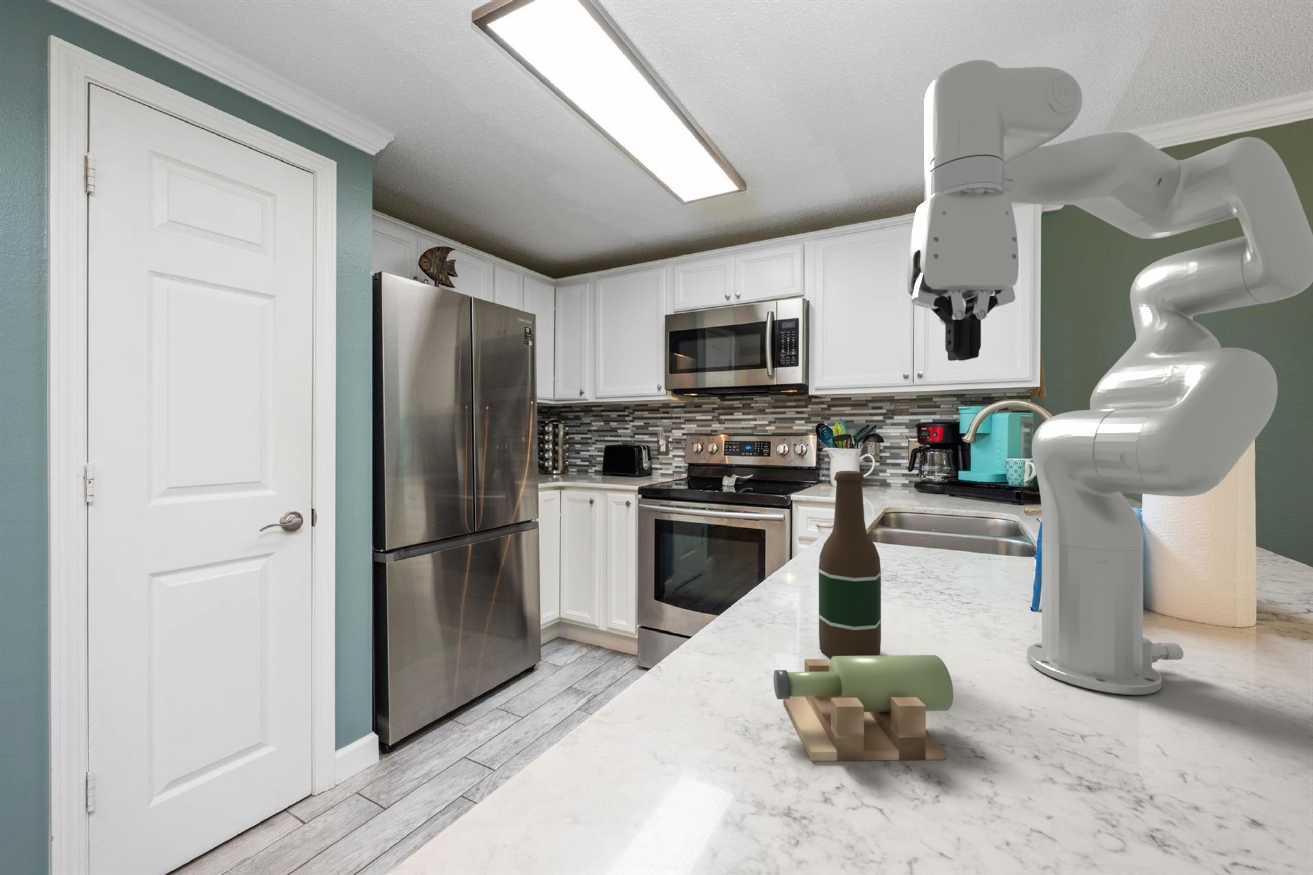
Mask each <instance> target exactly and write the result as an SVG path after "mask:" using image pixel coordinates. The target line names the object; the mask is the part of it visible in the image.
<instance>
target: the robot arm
mask: <svg viewBox="0 0 1313 875" xmlns="http://www.w3.org/2000/svg"><path fill="white" fill-rule="evenodd" d="M1082 106H1083V92H1082V88H1081V86H1080V84H1079V82H1078V81H1077V80H1076V78H1074V76H1072V75H1071V74H1070V73H1069V72H1067V71H1065V70H1063V69H1059V68H1056V67H1050V66H1031V67H1030V66H1028V67H1000V66H998V65H997V63H995V62H993V61H990V60H985V59H975V60H973V59H972V60H969V61H963V62H960V63H958V64H955V65H953V66H951V67H949V68H947V69H946V70H944V71H943V72H942V73H940V74H939V75H937V76H936V77H935V78H934V79H933V80H932V82H931V83H930V85H929V86H928V88H927V90H926V93H925V97H924V106H923V108H924V109H923V110H924V111H923V112H924V113H923V114H924V116H923V120H924V123H923V124H924V126H923V127H924V128H923V134H924V135H923V137H924V139H923V141H924V149H923V150H924V151H923V152H924V154H923V155H924V156H923V157H924V158H923V159H924V160H923V164H924V165H923V166H924V168H923V170H924V171H923V176H924V179H923V180H924V181H923V184H924V192H923V193H924V194H923V195H924V196H923V198H924V202H923V203H921V204H920V205H918V206H917V208H916V211H915V214H914V219H913V223H912V229H911V236H910V241H909V248H908V249H909V250H908V260H907V275H906V276H907V278H906V279H907V280H906V281H907V283H906V285H907V292H908V294H909V295H910V296H911V303H912V305H914V306H917V307H922V308H927V309H930V310H931V311H932V312H933V313H934V314H935V315H937V317H938V318H939V322H940V323H941V325H944V326H945V327H944V329H945V333H944V334H945V338H944V341H945V342H944V344H945V349H944V350H945V351H946V352H947V360H948V362H949V361H959V362H960V361H961V362H962V361H964V362H965V361H967V360H971V359H976V358H978V357H979V355H980V350H981V346H982V320H984V319H986V318H987V317H988V316H987V315H988V314H989V313H990V312H991V311H992V310H993V309H994V308H997V307H1001V306H1006V305H1007V304H1008V305H1009V304H1010V303H1013V302H1014V301H1015V300H1016V294H1015V290H1014V286H1015V285H1016V284H1017V282H1018V277H1019V245H1018V244H1019V243H1018V234H1017V233H1018V232H1017V227H1016V226H1017V224H1016V221H1015V214H1014V210H1013V205H1012V204H1021V205H1022V204H1027V205H1041V206H1043V205H1044V206H1065V205H1066V206H1067V205H1068V206H1071V205H1072V206H1076V207H1078V208H1079V209H1081V210H1083V211H1085V212H1087V213H1089V214H1090V215H1092V216H1094V217H1097V218H1099V219H1100V220H1102V221H1104V222H1105V223H1107V224H1110V225H1112V226H1113V227H1115V228H1117V229H1119V230H1121V231H1122V232H1125V233H1127V234H1129V235H1131V236H1133V237H1135V238H1138V239H1146V240H1148V239H1149V240H1151V239H1152V240H1155V239H1161V238H1162V239H1163V238H1167V237H1171V236H1175V235H1178V234H1182V233H1185V232H1188V231H1192V230H1195V229H1199V228H1202V227H1203V228H1204V227H1206V226H1209V225H1213V224H1217V223H1220V222H1223V221H1227V220H1230V219H1233V218H1237V219H1238V221H1239V223H1240V225H1241V229H1242V233H1243V236H1239V237H1235V238H1232V239H1228V240H1224V241H1220V242H1216V243H1211V244H1209V245H1205V246H1201V247H1198V248H1193V249H1190V250H1186V251H1182V252H1178V253H1175V254H1172V255H1170V256H1166V257H1163V258H1161V259H1158V260H1157V261H1154V262H1152V263H1150V264H1149V265H1148V266H1146V267H1145V268H1143V269H1142V270H1141V271H1140V272H1139V273H1138V274H1137V275H1136V277H1134V280H1133V282H1132V283H1131V284H1132V285H1131V288H1130V290H1129V291H1130V292H1129V293H1130V294H1129V300H1130V308H1131V314H1132V319H1133V326H1134V329H1135V341H1134V342H1133V343H1132V345H1131V346H1130V347H1129V348H1128V349H1127V350H1126V352H1125V353H1124V354H1122V356H1121V357H1120V358H1119V359H1118V360H1117V361H1116V362H1115V363H1114V364H1113V366H1111V367H1110V369H1109V370H1108V371H1107V372H1106V373H1105V374H1104V375H1103V376H1102V378H1101V379H1100V380H1099V381H1098V383H1097V384H1096V386H1095V387H1094V388H1093V391H1092V394H1091V395H1090V396H1091V397H1090V399H1089V408H1090V409H1083V410H1082V409H1081V410H1072V411H1068V412H1063V413H1059V414H1056V415H1054V416H1051V417H1049V418H1048V419H1046V420H1045V421H1043V423H1041V424H1040V425H1039V426H1038V428H1037V429H1036V431H1035V433H1034V435H1033V437H1032V441H1031V457H1032V461H1033V467H1034V470H1035V474H1036V477H1037V484H1038V488H1039V496H1040V506H1041V642H1035V643H1034V644H1031V645H1030V646H1029V647H1027V649H1026V660H1027V661H1028V663H1029V664H1030V665H1031V666H1033V668H1035V669H1037V670H1038V671H1040V672H1041V673H1043V674H1045V675H1047V676H1049V677H1052V678H1054V679H1056V680H1059V681H1061V682H1064V683H1067V684H1069V685H1074V686H1077V687H1080V688H1084V689H1088V690H1092V691H1093V690H1094V691H1097V692H1104V693H1109V694H1115V695H1128V696H1129V695H1130V696H1139V695H1140V696H1142V695H1149V694H1154V693H1157V692H1158V691H1160V690H1161V688H1162V676H1161V674H1160V672H1158V671H1157V670H1156V669H1155V668H1153V663H1157V662H1158V661H1159V660H1162V661H1163V660H1164V661H1179V660H1182V659H1183V657H1184V651H1183V648H1182V647H1181V646H1180V645H1179V644H1178V643H1177V642H1156V643H1153V642H1152V641H1151V640H1150V639H1149V638H1148V637H1145V636H1144V532H1143V527H1142V524H1141V521H1140V519H1139V517H1138V515H1137V513H1136V512H1135V510H1134V508H1133V507H1132V506H1131V505H1130V503H1129V502H1128V500H1127V499H1126V497H1125V496H1124V495H1123V493H1129V494H1138V495H1139V494H1143V495H1151V496H1162V497H1165V496H1166V497H1195V496H1199V495H1202V494H1205V493H1207V492H1210V491H1212V490H1213V489H1215V487H1217V486H1218V485H1220V483H1221V482H1223V480H1224V479H1225V478H1226V477H1227V475H1228V474H1229V473H1230V472H1231V470H1233V468H1234V467H1235V466H1236V464H1237V463H1238V462H1239V460H1240V459H1241V458H1242V456H1243V455H1244V454H1245V453H1246V451H1248V449H1249V448H1250V446H1251V445H1252V444H1253V442H1254V441H1255V440H1256V438H1257V437H1258V436H1259V435H1260V433H1261V432H1262V431H1263V429H1264V428H1265V426H1266V425H1267V424H1268V422H1269V421H1270V419H1271V417H1272V415H1273V412H1274V410H1275V408H1276V404H1277V400H1278V399H1277V398H1278V394H1279V393H1278V392H1279V391H1278V389H1279V388H1278V378H1277V374H1276V372H1275V369H1274V368H1273V366H1272V365H1271V363H1270V362H1269V361H1268V360H1267V359H1266V358H1265V357H1264V356H1263V355H1261V354H1259V353H1258V352H1255V351H1253V350H1250V349H1246V348H1241V347H1222V346H1221V344H1220V342H1219V341H1218V339H1217V337H1215V335H1214V334H1212V332H1211V331H1210V330H1209V329H1207V328H1206V327H1205V326H1203V325H1202V324H1200V323H1199V322H1197V321H1196V320H1193V319H1194V318H1193V317H1194V316H1198V315H1203V314H1209V313H1215V312H1221V311H1227V310H1232V309H1237V308H1244V307H1249V306H1255V305H1260V304H1261V305H1262V304H1270V303H1273V302H1279V301H1282V300H1285V299H1288V298H1291V297H1294V296H1297V295H1299V294H1301V293H1302V292H1304V291H1305V290H1307V289H1308V288H1309V287H1311V285H1312V284H1313V231H1312V228H1311V227H1310V224H1309V221H1308V219H1307V215H1306V213H1305V210H1304V208H1303V205H1302V202H1301V200H1300V198H1299V194H1298V191H1297V189H1296V186H1295V185H1294V182H1293V178H1292V177H1291V175H1290V173H1289V171H1288V169H1287V168H1286V165H1285V163H1284V162H1283V161H1282V160H1283V159H1282V158H1281V157H1280V155H1279V154H1278V152H1277V151H1276V150H1275V149H1274V148H1273V147H1272V146H1271V144H1269V143H1267V141H1265V140H1262V139H1261V138H1258V137H1254V136H1245V137H1240V138H1237V139H1233V140H1232V141H1229V142H1227V143H1224V144H1221V145H1219V146H1216V147H1214V148H1212V149H1208V150H1206V151H1204V152H1201V153H1199V154H1195V155H1193V156H1191V157H1187V158H1185V159H1176V158H1175V157H1172V156H1170V155H1169V154H1167V153H1165V152H1163V151H1162V150H1160V149H1159V148H1157V147H1155V146H1154V145H1153V144H1151V143H1149V142H1148V141H1146V140H1145V139H1144V138H1142V137H1140V136H1139V135H1137V134H1135V133H1132V132H1127V131H1115V132H1113V131H1112V132H1105V133H1100V134H1093V135H1089V136H1084V137H1080V138H1076V139H1072V140H1071V139H1070V140H1068V141H1063V142H1058V143H1055V144H1050V145H1045V144H1047V143H1049V142H1050V141H1053V140H1054V139H1056V138H1057V137H1059V136H1060V135H1062V134H1063V133H1064V132H1066V131H1067V130H1068V129H1069V128H1070V127H1071V126H1072V125H1073V124H1074V123H1075V121H1076V119H1077V118H1078V117H1079V114H1080V112H1081V110H1082Z"/></svg>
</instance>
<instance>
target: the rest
mask: <svg viewBox="0 0 1313 875" xmlns="http://www.w3.org/2000/svg"><path fill="white" fill-rule="evenodd" d="M829 664H830V660H829V659H828V658H804V672H829ZM782 701H783V706H784V708H785V711H786V712H787V715H788V717H789V718H790V721H791V723H792V725H793V727H794V728H795V731H796V733H797V735H798V737H799V739H800V741H801V743H802V745H803V747H804V749H805V751H806V754H807V756H808V757H809V759H810V761H811V762H823V761H824V762H825V761H827V762H832V761H833V762H834V761H835V762H840V761H850V762H851V761H852V762H853V761H920V760H922V761H923V760H924V761H927V760H928V761H932V760H933V761H935V760H936V761H937V760H941V761H942V760H946V759H947V753H946V752H947V750H946V749H945V748H944V747H943V746H942V745H941V743H939V741H937V739H936V738H935V737H934V736H933V735H932V734H931V733H930V731H928V730H927V728H926V726H927V725H926V722H927V721H926V716H927V714H926V712H927V711H926V706H925V705H924V704H923V703H922V702H921V701H920V700H919V699H918V698H917V697H891V712H864V706H863V705H862V703H861V702H860V701H859V700H858V698H833V697H832V696H817V697H790V698H789V699H782Z"/></svg>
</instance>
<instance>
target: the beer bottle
mask: <svg viewBox="0 0 1313 875" xmlns="http://www.w3.org/2000/svg"><path fill="white" fill-rule="evenodd" d="M833 480H834V481H835V482H836V485H835V486H836V488H835V502H834V516H833V518H834V519H833V520H834V522H833V525H832V530H831V531H832V532H831V533H830V535H829V536H828V537H827V538H826V540H825V542H824V543H823V545H822V548H821V551H820V554H819V559H818V560H819V561H818V562H819V563H818V640H819V644H818V645H819V649H820V650H819V651H820V652H822V653H823V654H824V655H825V656H827V657H828V658H829V659H830V660H831V658H832V657H833V656H880V654H881V647H882V646H881V644H882V571H881V570H882V568H881V558H880V554H879V552H878V550H877V547H876V545H875V543H874V541H873V540H872V538H871V537H870V536H869V534H868V532H867V527H866V522H865V509H864V508H865V507H864V493H863V492H864V491H863V482H864V481H865V476H864V473H863V472H861V471H858V470H857V471H856V470H839V471H837V472H835V474H834V478H833Z"/></svg>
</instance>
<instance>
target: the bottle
mask: <svg viewBox="0 0 1313 875" xmlns="http://www.w3.org/2000/svg"><path fill="white" fill-rule="evenodd" d="M829 662H830V664H829V672H805V671H787V670H786V669H775V670H774V671H773V689H774V694H775V698H776V699H777V700H783V699H789V698H790V697H817V696H832V697H833V698H858V700H859V701H860V702H861V703H862V705H863V706H864V712H891V697H917V698H918V699H919V700H920V701H921V702H922V703H923V704H924V705H925V706H926V712H947V711H949V710H950V709H951V707H952V705H953V702H954V687H953V682H952V678H951V675H950V672H949V670H948V667H947V666H946V664H945V662H944V661H943V659H942V658H940V657H939V656H937V655H936V654H905V655H904V654H903V655H900V654H898V655H897V654H896V655H893V654H891V655H879V656H833V657H832V658H831V659H830V660H829Z"/></svg>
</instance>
